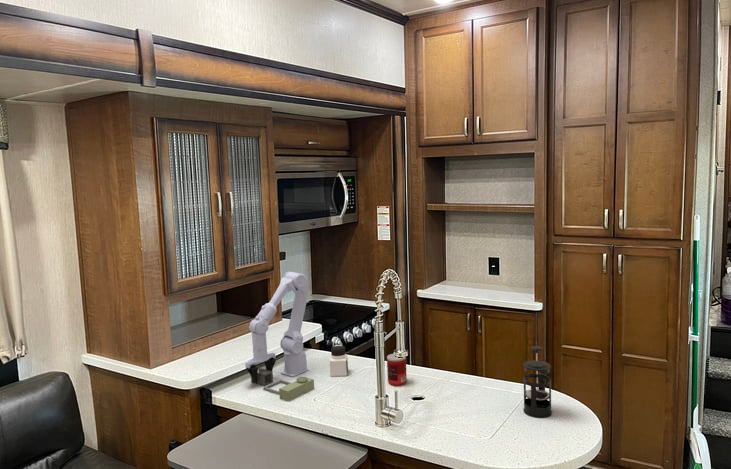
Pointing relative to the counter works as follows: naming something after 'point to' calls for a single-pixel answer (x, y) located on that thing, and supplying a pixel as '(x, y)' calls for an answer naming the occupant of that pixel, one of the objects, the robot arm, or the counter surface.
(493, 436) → the counter surface
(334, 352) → the medicine bottle
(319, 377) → the counter surface
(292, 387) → the grey frame stand
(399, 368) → the canned food
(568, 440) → the counter surface
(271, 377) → the chute
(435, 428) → the counter surface
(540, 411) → the french press
